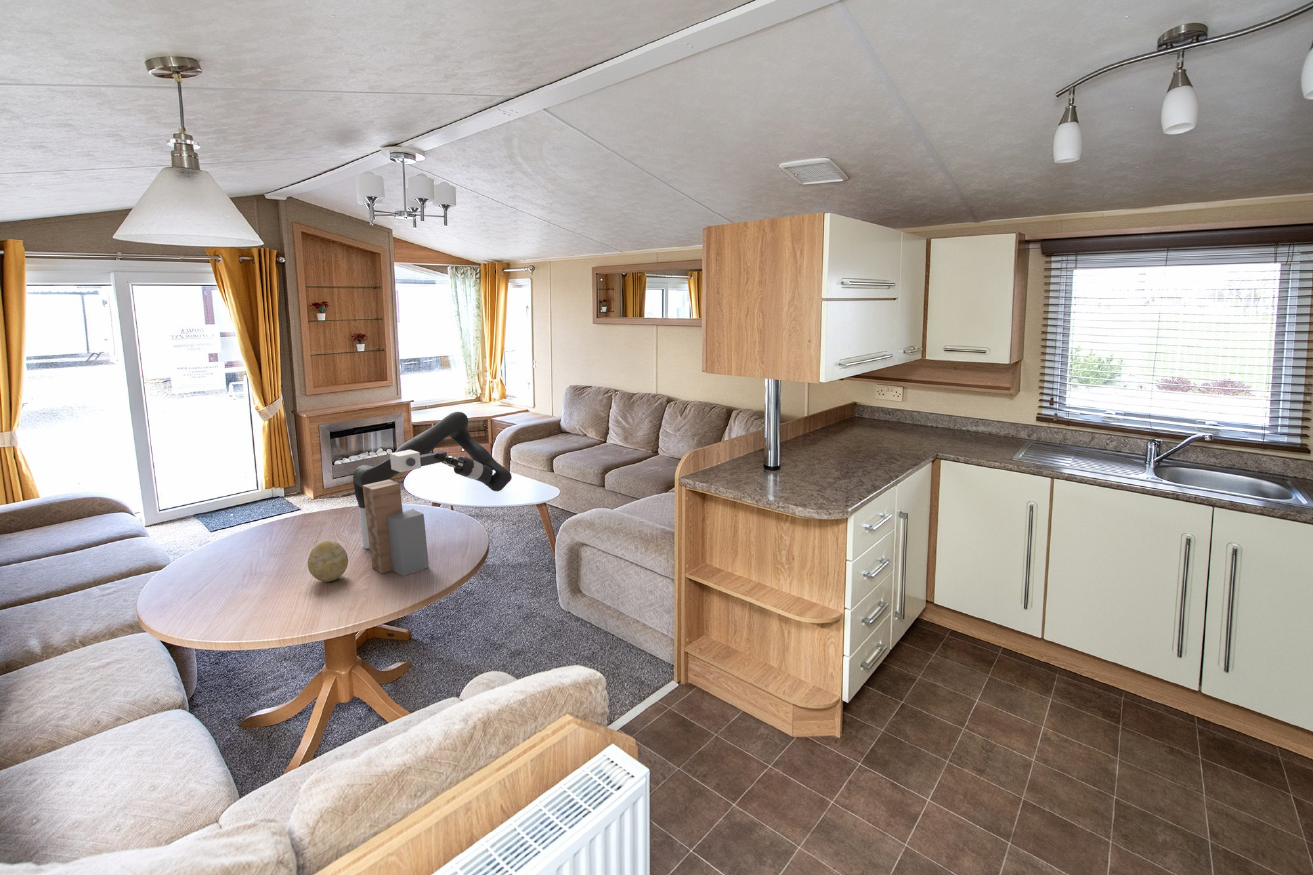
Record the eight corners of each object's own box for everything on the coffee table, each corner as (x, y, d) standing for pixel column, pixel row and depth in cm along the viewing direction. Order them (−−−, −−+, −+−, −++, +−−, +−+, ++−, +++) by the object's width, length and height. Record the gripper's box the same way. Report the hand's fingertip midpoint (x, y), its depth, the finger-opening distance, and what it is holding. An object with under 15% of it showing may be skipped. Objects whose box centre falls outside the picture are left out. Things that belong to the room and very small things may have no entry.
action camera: (390, 468, 234) (389, 453, 233) (439, 458, 249) (438, 443, 248) (402, 472, 229) (400, 457, 227) (451, 461, 243) (450, 446, 242)
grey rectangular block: (392, 570, 232) (386, 516, 227) (418, 561, 239) (412, 509, 235) (403, 576, 227) (397, 521, 222) (428, 567, 234) (423, 513, 229)
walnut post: (372, 567, 234) (362, 485, 227) (398, 559, 241) (389, 479, 235) (382, 573, 229) (372, 489, 222) (408, 565, 236) (399, 483, 229)
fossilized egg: (357, 576, 227) (353, 537, 223) (324, 590, 216) (318, 550, 213) (336, 569, 233) (331, 531, 230) (302, 582, 222) (297, 543, 219)
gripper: (462, 456, 260) (427, 442, 247) (481, 462, 251) (446, 448, 238) (455, 473, 259) (419, 460, 246) (474, 479, 249) (438, 466, 237)
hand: (432, 454), depth 242 cm, fingers closed on action camera, 3 cm apart
